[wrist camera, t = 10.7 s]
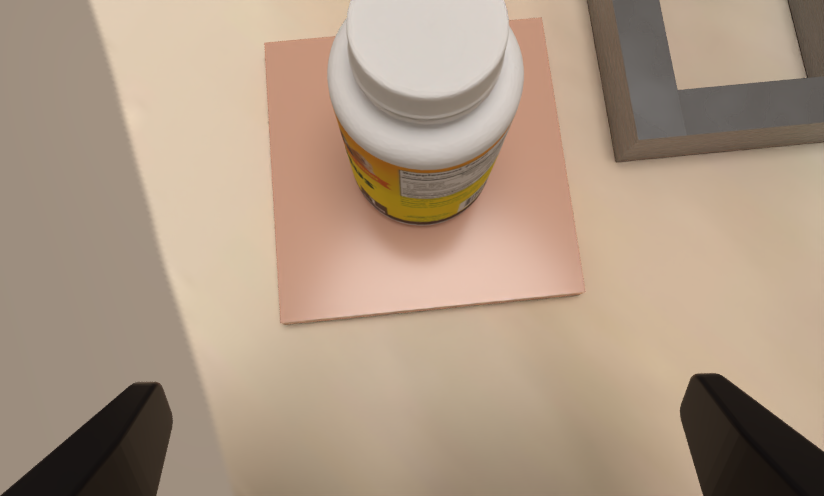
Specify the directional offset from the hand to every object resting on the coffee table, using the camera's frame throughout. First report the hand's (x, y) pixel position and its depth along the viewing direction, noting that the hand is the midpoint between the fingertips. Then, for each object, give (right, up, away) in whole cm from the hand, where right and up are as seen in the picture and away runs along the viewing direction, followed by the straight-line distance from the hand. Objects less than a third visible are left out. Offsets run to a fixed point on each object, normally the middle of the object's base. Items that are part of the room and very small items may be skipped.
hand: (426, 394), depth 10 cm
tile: (0, +6, +15) cm, 16 cm away
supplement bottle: (0, +6, +14) cm, 15 cm away
